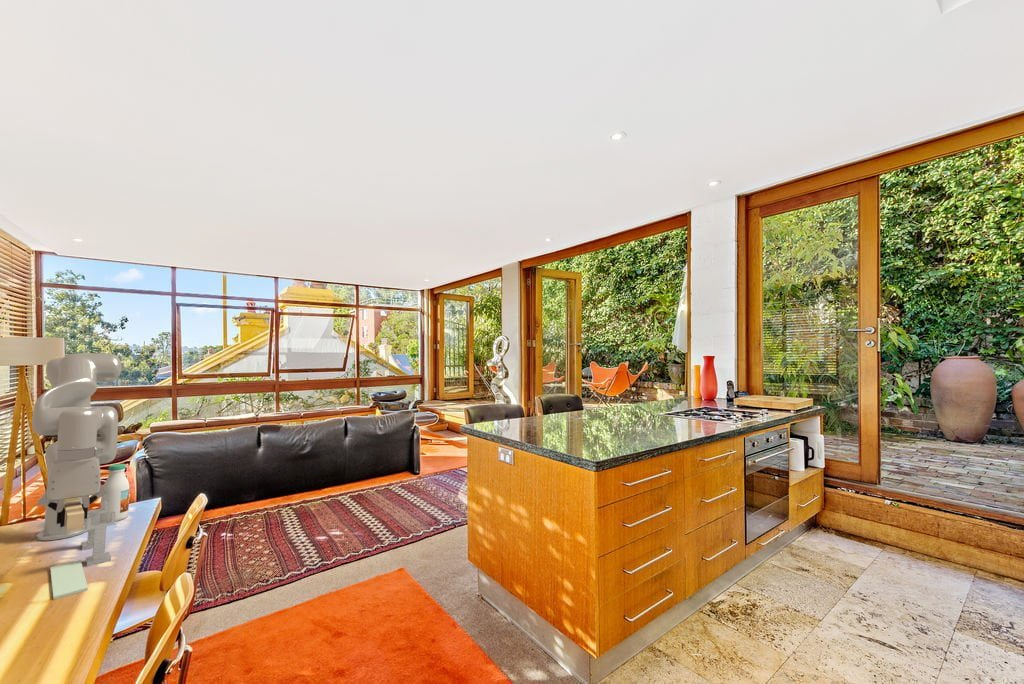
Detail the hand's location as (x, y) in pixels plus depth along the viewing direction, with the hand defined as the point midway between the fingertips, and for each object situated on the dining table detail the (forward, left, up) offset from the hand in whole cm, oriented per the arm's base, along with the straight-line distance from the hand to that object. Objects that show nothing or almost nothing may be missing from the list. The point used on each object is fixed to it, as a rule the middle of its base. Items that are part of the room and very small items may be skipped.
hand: (71, 523), depth 115 cm
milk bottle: (-51, +14, -15) cm, 55 cm away
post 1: (-25, +7, -15) cm, 30 cm away
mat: (0, 0, -15) cm, 15 cm away
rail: (0, 0, +1) cm, 1 cm away
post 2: (-9, +7, -15) cm, 18 cm away
